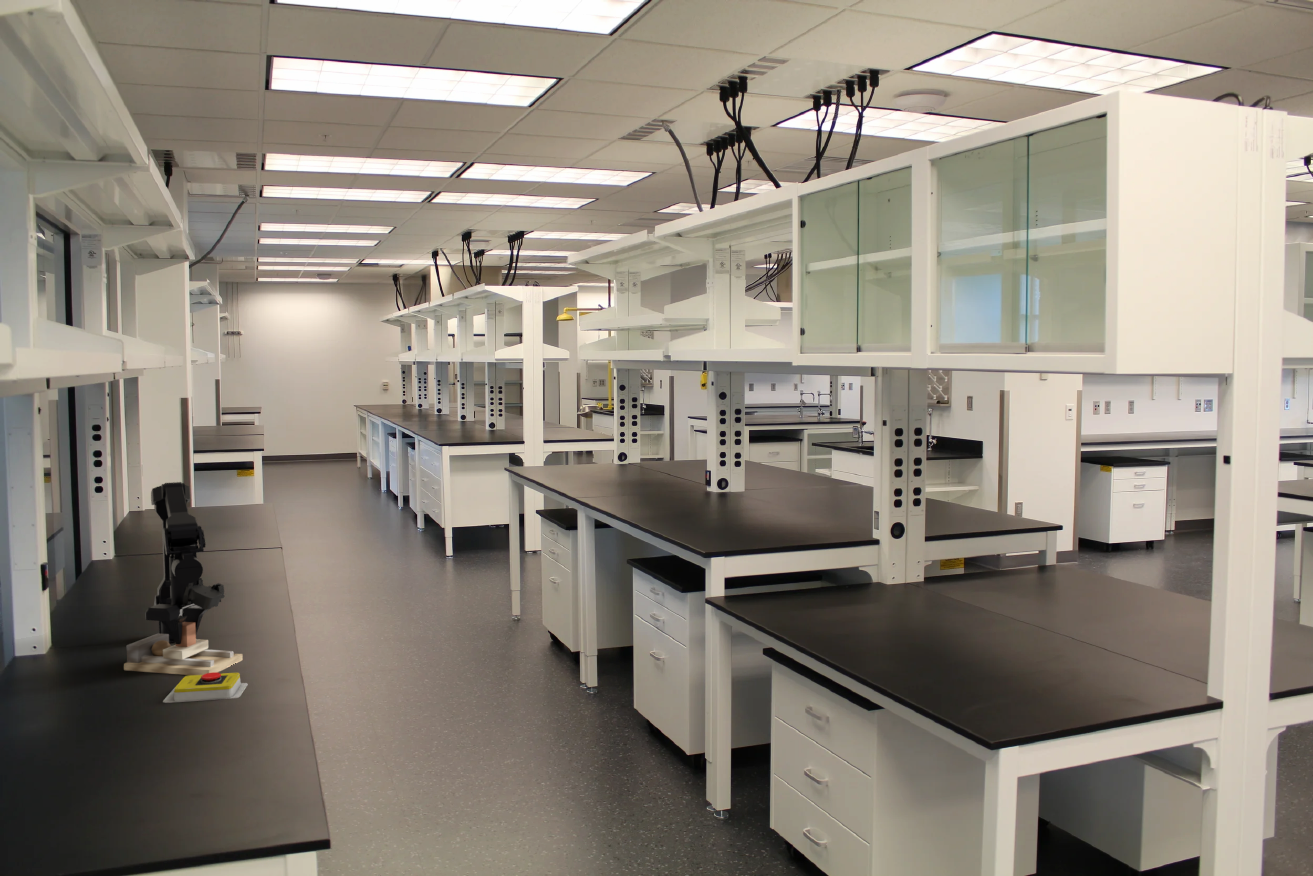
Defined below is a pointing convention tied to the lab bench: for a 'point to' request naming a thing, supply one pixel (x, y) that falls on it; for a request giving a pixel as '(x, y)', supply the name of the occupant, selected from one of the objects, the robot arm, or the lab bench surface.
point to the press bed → (193, 665)
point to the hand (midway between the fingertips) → (185, 641)
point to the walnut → (160, 647)
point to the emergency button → (207, 687)
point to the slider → (186, 644)
